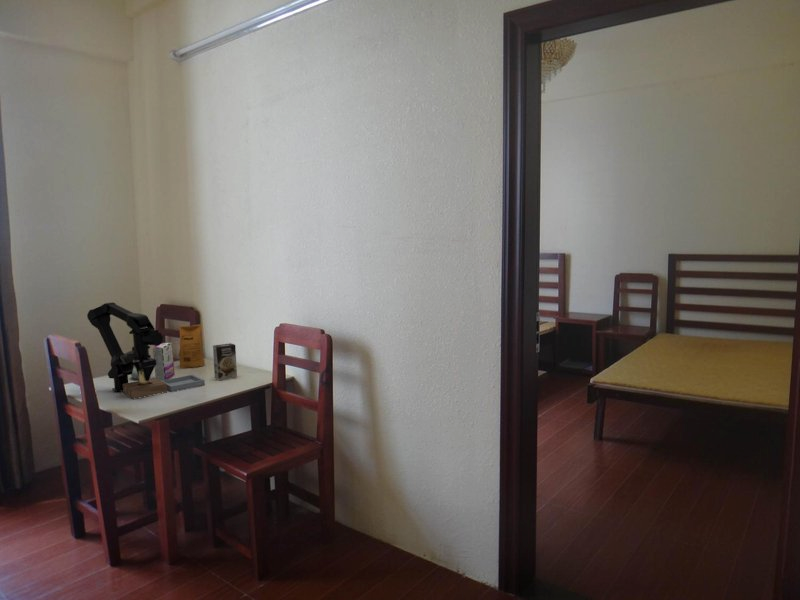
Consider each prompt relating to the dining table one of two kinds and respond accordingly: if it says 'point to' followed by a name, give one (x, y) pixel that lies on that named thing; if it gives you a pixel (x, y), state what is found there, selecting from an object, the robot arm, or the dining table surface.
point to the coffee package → (191, 346)
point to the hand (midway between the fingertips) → (143, 379)
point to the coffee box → (225, 361)
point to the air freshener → (135, 373)
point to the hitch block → (144, 388)
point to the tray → (183, 382)
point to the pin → (142, 378)
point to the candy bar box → (163, 361)
